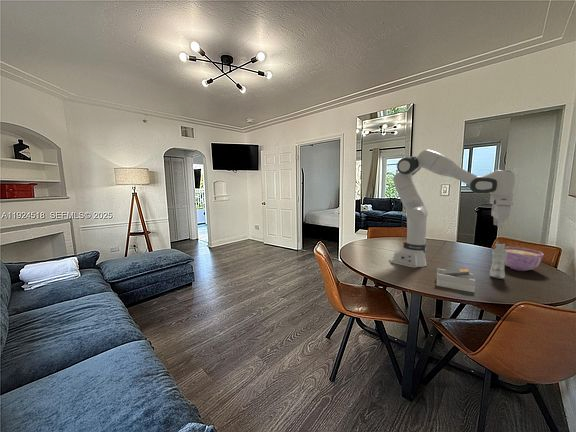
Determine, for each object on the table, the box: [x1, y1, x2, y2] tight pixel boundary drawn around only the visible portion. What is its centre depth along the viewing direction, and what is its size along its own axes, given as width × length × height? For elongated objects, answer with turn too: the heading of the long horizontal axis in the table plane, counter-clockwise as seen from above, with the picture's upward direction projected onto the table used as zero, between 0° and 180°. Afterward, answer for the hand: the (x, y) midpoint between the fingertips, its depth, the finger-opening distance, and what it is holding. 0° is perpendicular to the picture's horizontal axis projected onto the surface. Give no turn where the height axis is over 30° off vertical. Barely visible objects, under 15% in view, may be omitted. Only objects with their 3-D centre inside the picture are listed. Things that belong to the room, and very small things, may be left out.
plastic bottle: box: [489, 242, 507, 279], centre depth 134 cm, size 6×7×20 cm
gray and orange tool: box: [441, 268, 470, 276], centre depth 126 cm, size 12×6×2 cm, turn 57°
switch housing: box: [435, 268, 476, 293], centre depth 126 cm, size 16×12×6 cm
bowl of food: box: [504, 246, 544, 272], centre depth 148 cm, size 20×20×12 cm
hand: (497, 226), depth 127 cm, fingers open, 8 cm apart
